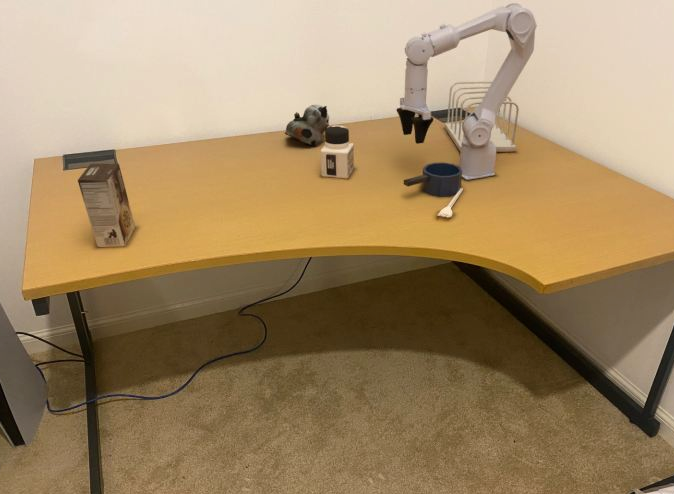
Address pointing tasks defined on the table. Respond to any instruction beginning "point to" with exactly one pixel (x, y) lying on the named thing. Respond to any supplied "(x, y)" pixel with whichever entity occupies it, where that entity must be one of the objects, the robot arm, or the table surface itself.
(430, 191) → the pot
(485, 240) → the table surface
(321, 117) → the lucky cat figurine
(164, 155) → the table surface
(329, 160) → the container
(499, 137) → the file sorter
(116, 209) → the coffee box
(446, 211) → the fork
